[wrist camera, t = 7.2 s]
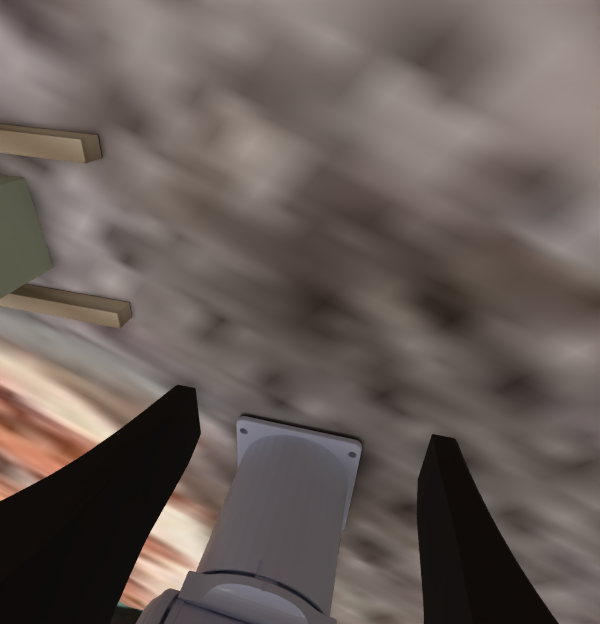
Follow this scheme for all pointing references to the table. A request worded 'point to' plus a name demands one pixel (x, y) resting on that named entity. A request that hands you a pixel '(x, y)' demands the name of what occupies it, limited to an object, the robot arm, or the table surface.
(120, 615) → the dark fedora hat
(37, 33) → the table surface
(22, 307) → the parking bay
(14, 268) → the sage block
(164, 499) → the robot arm
